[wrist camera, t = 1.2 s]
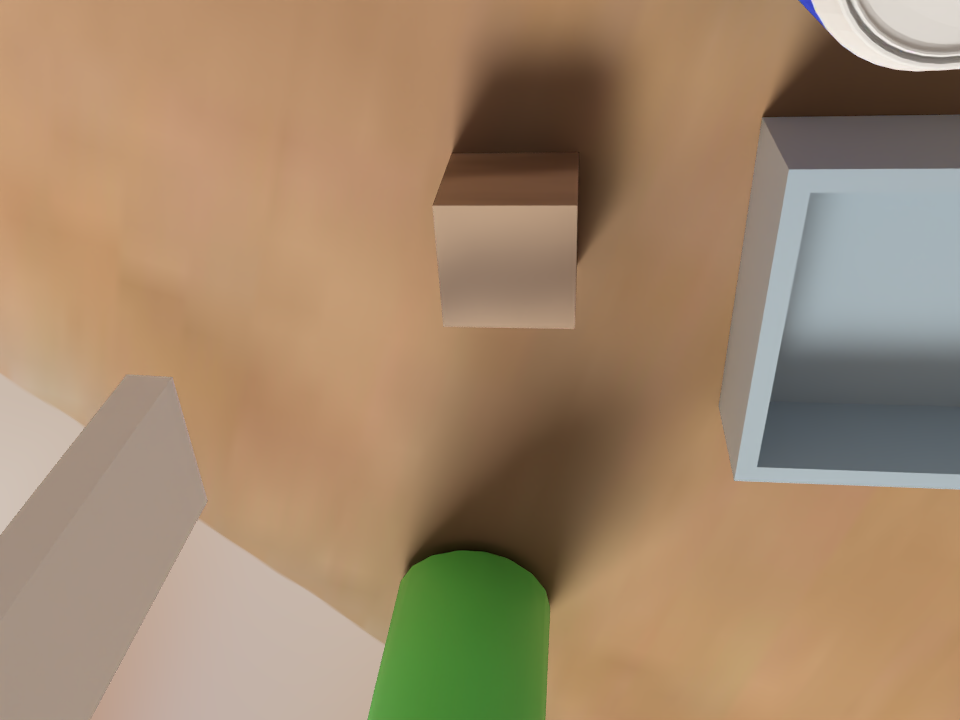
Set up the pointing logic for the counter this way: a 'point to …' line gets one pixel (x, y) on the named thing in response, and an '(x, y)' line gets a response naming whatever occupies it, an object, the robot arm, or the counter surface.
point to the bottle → (465, 642)
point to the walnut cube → (508, 240)
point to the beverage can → (895, 31)
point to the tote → (848, 306)
